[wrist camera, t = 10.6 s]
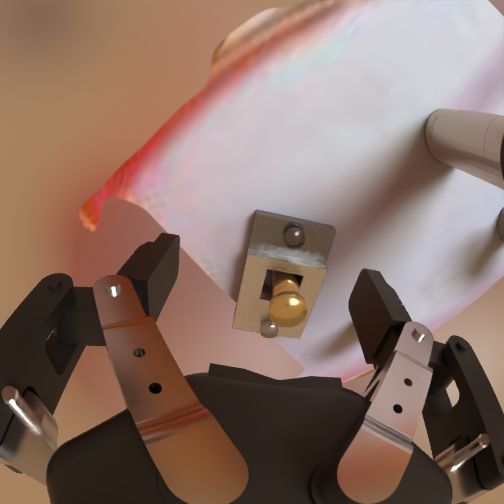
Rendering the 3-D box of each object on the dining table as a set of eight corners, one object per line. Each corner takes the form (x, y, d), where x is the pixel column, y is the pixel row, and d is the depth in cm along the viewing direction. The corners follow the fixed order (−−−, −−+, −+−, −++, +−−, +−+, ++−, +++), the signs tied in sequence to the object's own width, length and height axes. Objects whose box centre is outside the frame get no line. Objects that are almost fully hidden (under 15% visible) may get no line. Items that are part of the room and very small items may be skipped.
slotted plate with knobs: (333, 226, 41) (341, 241, 36) (297, 323, 51) (300, 344, 46) (256, 209, 41) (255, 223, 36) (234, 313, 50) (231, 334, 45)
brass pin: (303, 263, 45) (312, 301, 36) (295, 289, 47) (300, 329, 38) (272, 257, 44) (274, 295, 36) (265, 284, 47) (265, 324, 38)
